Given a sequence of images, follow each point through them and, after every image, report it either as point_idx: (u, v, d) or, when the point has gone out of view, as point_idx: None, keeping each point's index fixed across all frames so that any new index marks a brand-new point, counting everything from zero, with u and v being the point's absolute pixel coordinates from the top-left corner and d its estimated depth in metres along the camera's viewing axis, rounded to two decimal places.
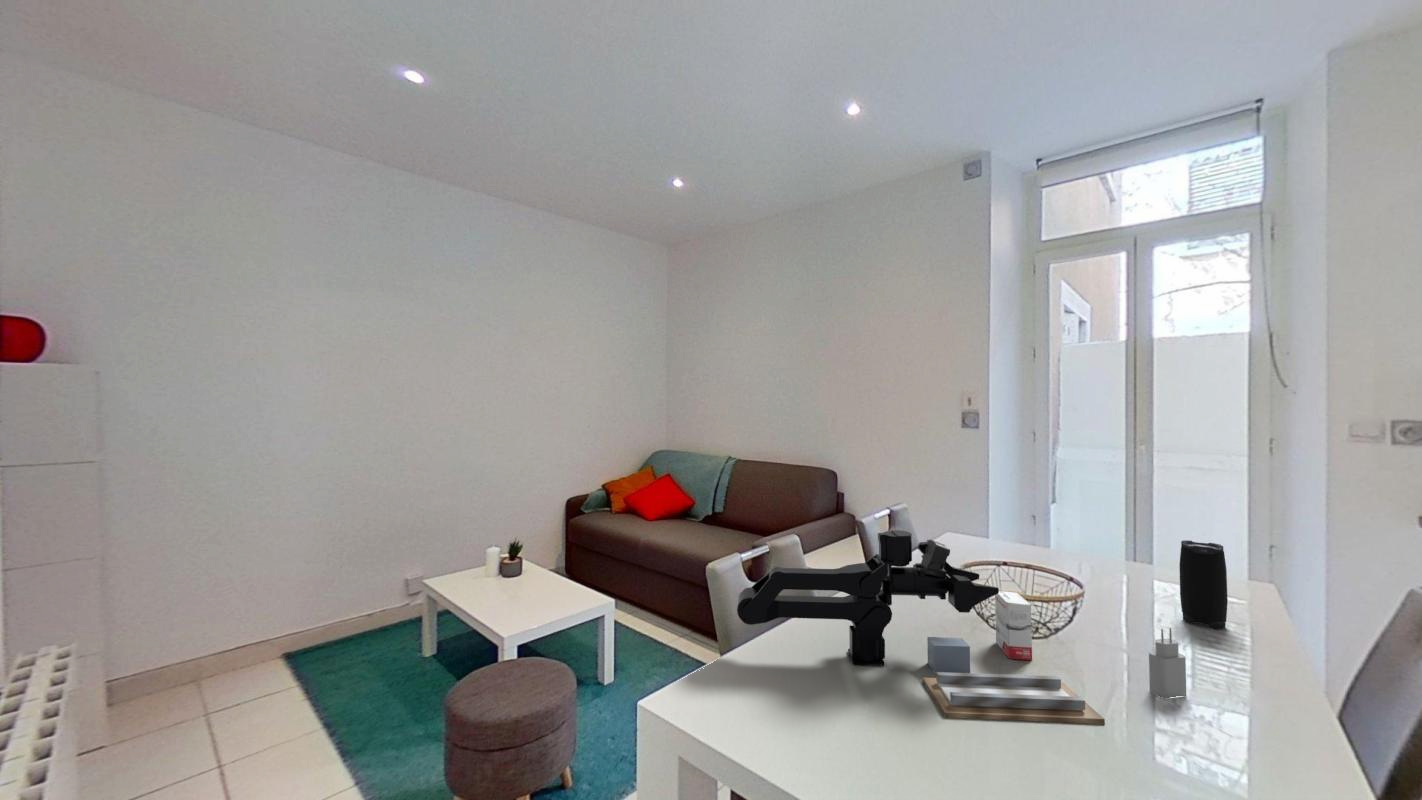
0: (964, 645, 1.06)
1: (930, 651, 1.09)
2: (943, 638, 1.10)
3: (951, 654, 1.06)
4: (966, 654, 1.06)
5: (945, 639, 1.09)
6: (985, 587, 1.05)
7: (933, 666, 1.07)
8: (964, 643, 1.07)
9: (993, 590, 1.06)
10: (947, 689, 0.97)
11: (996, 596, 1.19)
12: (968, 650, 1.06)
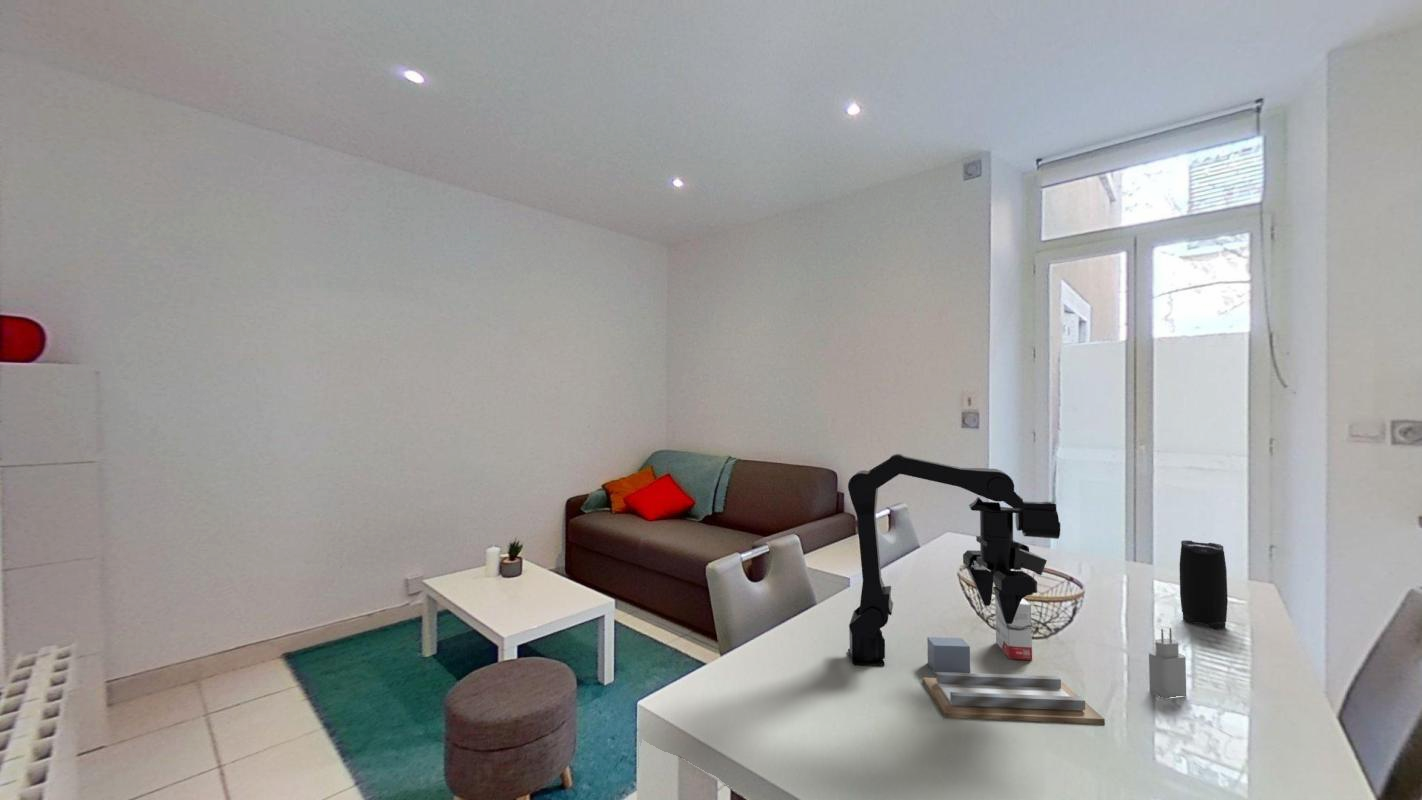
0: (964, 645, 1.06)
1: (930, 651, 1.09)
2: (943, 638, 1.10)
3: (951, 654, 1.06)
4: (966, 654, 1.06)
5: (945, 639, 1.09)
6: (1016, 610, 0.98)
7: (933, 666, 1.07)
8: (964, 643, 1.07)
9: (1010, 618, 0.98)
10: (947, 689, 0.97)
11: None
12: (968, 650, 1.06)
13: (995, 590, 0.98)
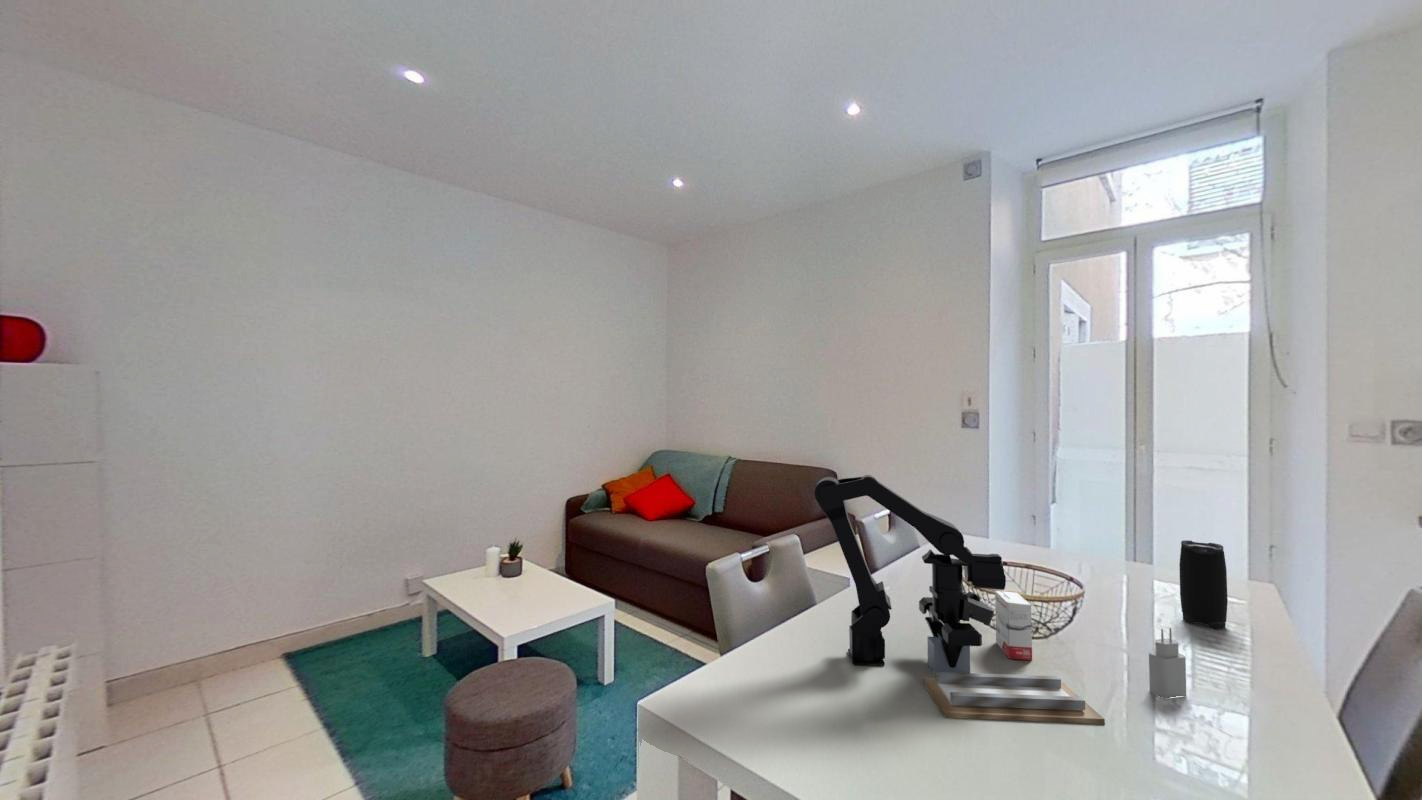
0: None
1: (930, 651, 1.09)
2: None
3: None
4: (966, 653, 1.06)
5: None
6: (958, 654, 1.05)
7: (933, 666, 1.07)
8: None
9: (953, 662, 1.05)
10: (947, 689, 0.97)
11: (996, 596, 1.19)
12: (968, 649, 1.06)
13: (939, 636, 1.05)
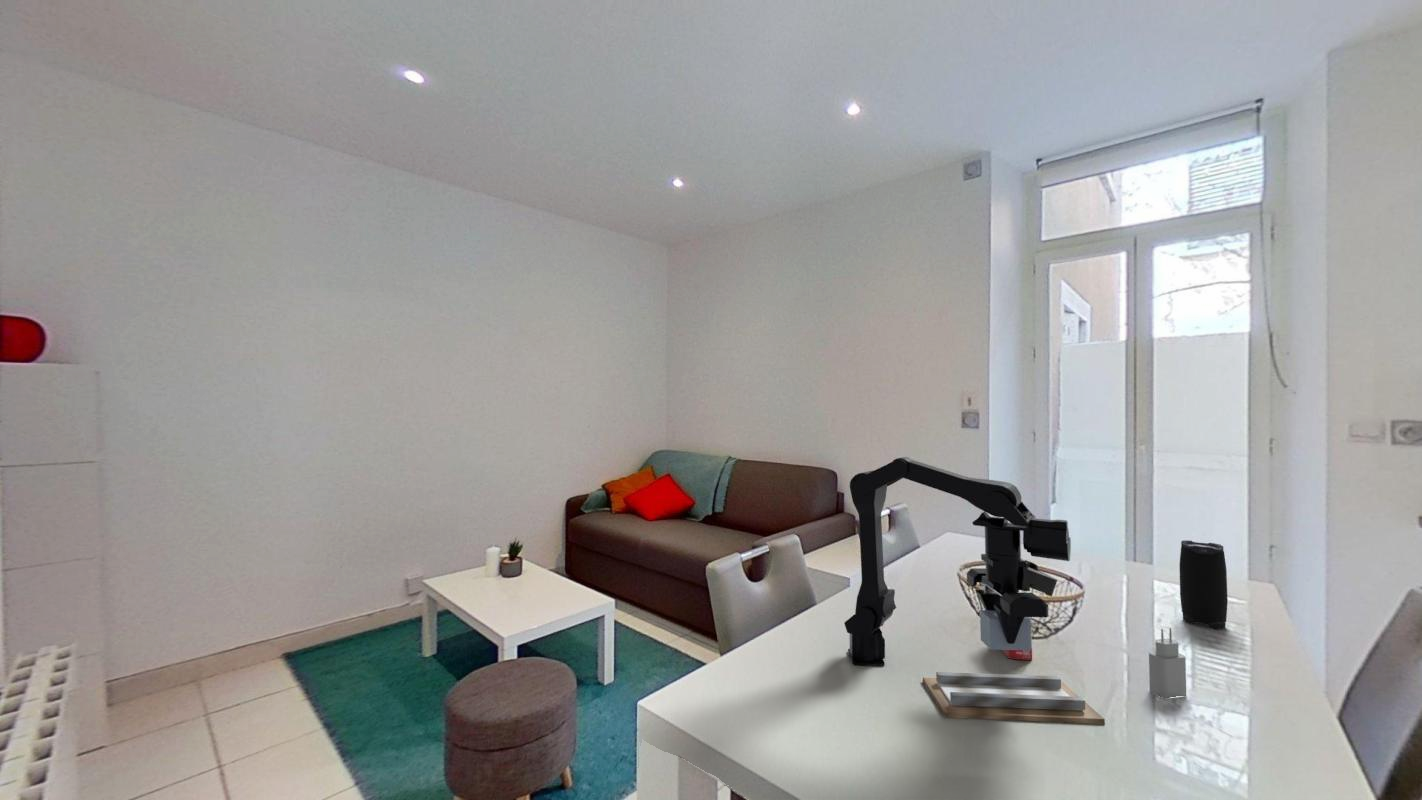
0: (1024, 618, 0.95)
1: (984, 626, 0.97)
2: None
3: None
4: (1026, 628, 0.94)
5: None
6: (1018, 629, 0.93)
7: (989, 642, 0.95)
8: None
9: (1012, 638, 0.94)
10: (947, 689, 0.97)
11: None
12: (1028, 623, 0.94)
13: (996, 608, 0.93)
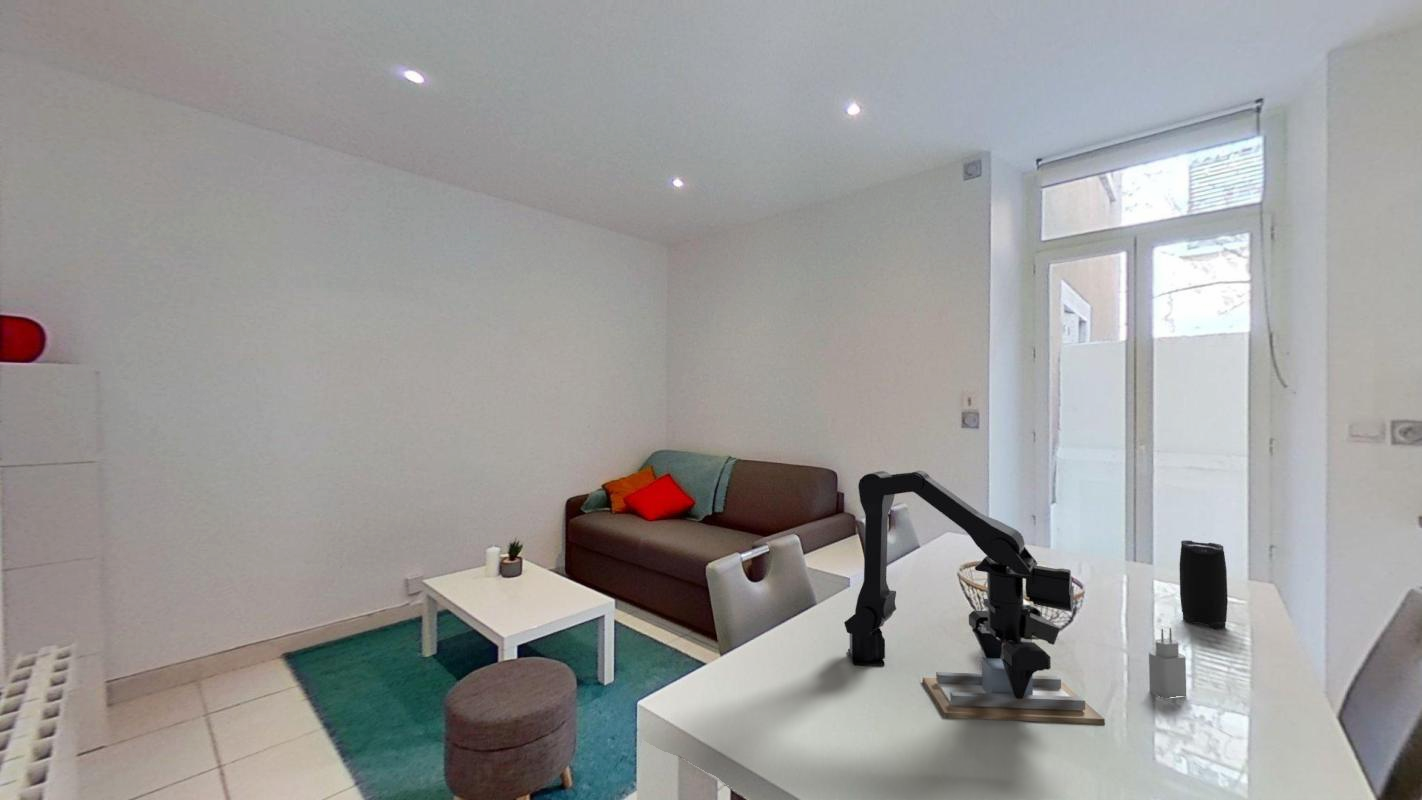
0: None
1: (985, 675, 0.97)
2: (1000, 659, 0.97)
3: None
4: None
5: None
6: (1026, 684, 0.90)
7: (990, 692, 0.95)
8: None
9: (1020, 693, 0.91)
10: (947, 689, 0.97)
11: None
12: None
13: (1004, 663, 0.90)
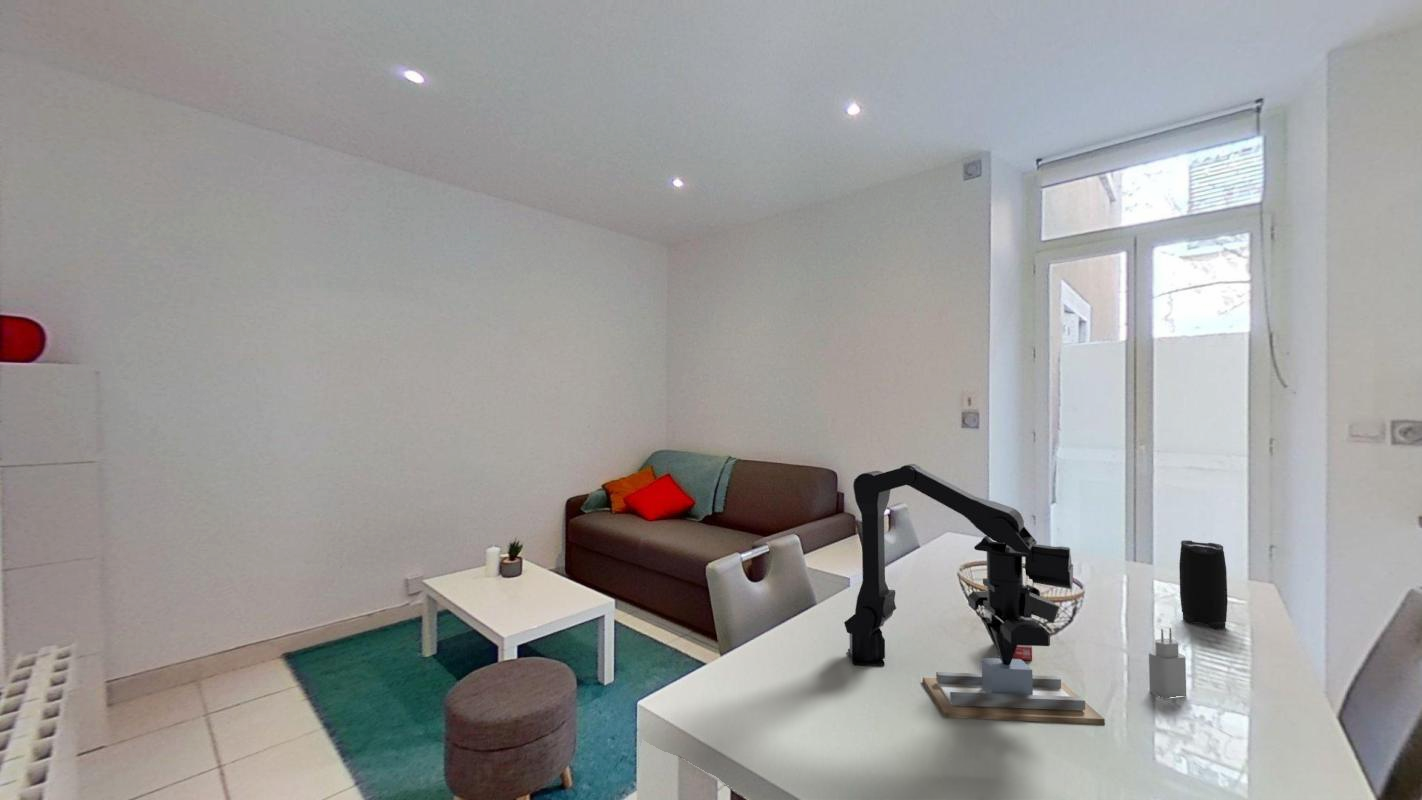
0: (1025, 668, 0.94)
1: (985, 675, 0.97)
2: (1000, 659, 0.97)
3: (1010, 678, 0.94)
4: (1028, 678, 0.94)
5: None
6: (1014, 650, 0.95)
7: (990, 692, 0.95)
8: (1025, 666, 0.95)
9: (1008, 659, 0.95)
10: (947, 689, 0.97)
11: None
12: (1030, 674, 0.94)
13: (992, 630, 0.95)
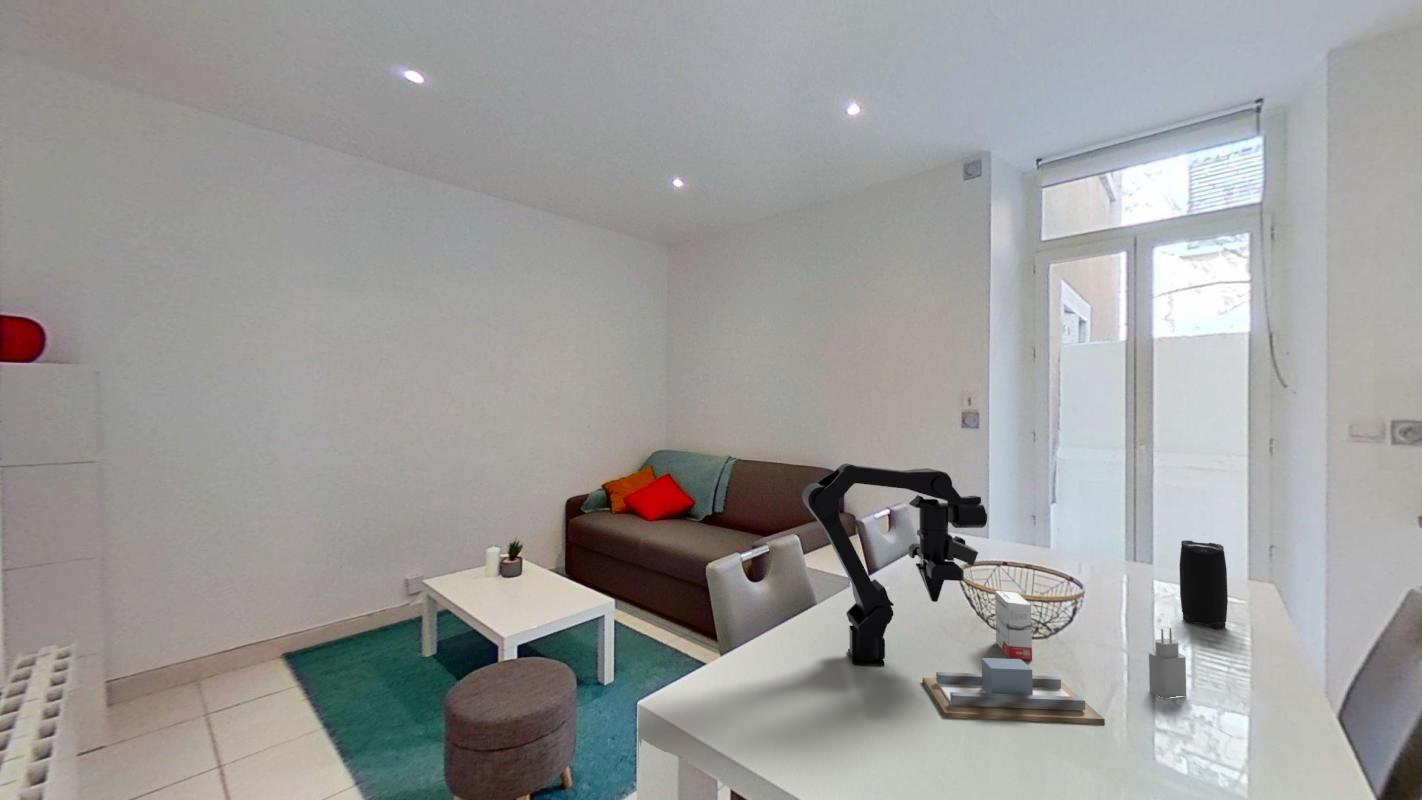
0: (1025, 668, 0.94)
1: (985, 675, 0.97)
2: (1000, 659, 0.97)
3: (1010, 678, 0.94)
4: (1028, 678, 0.94)
5: (1002, 661, 0.97)
6: (940, 589, 1.12)
7: (990, 692, 0.95)
8: (1025, 666, 0.95)
9: (935, 597, 1.12)
10: (947, 689, 0.97)
11: (996, 596, 1.19)
12: (1030, 674, 0.94)
13: (922, 572, 1.12)
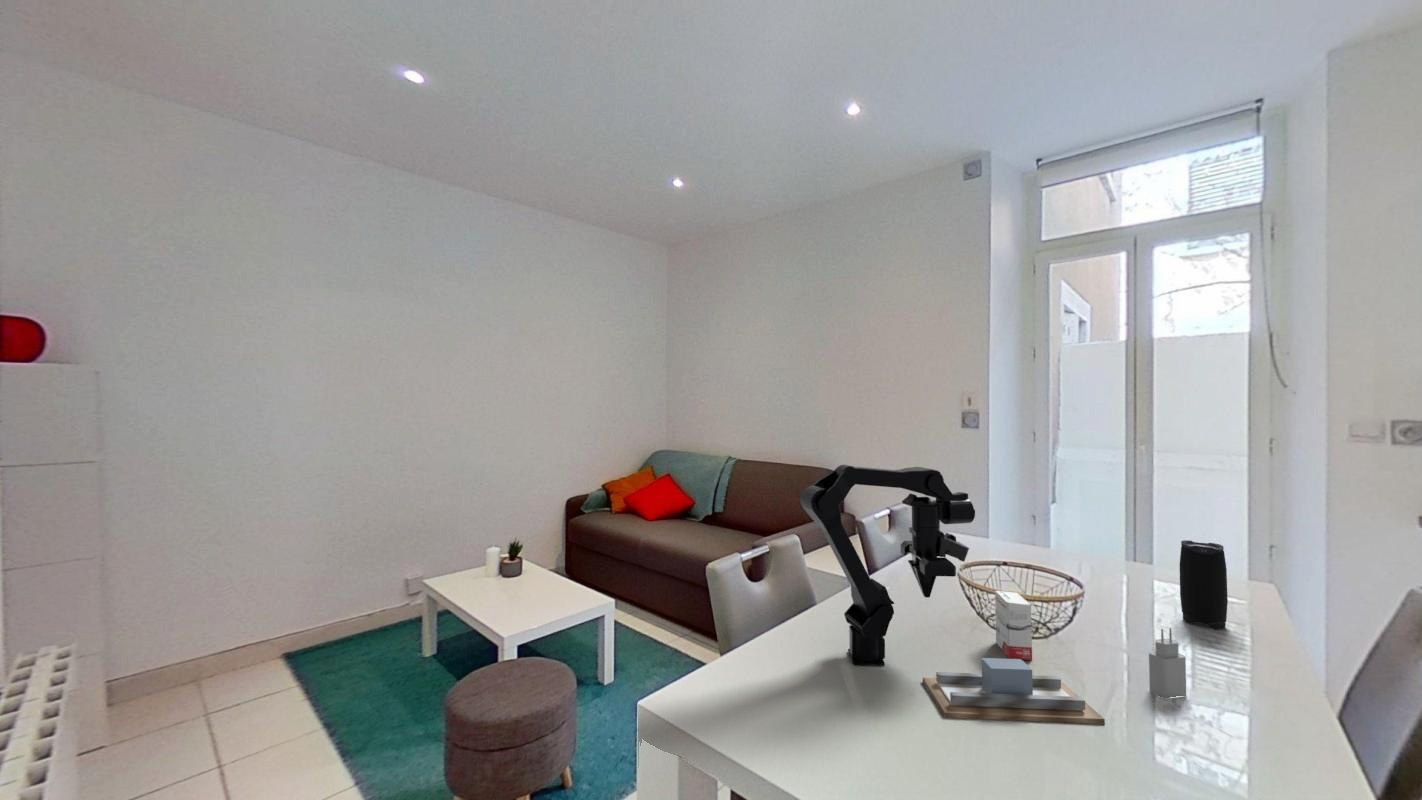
0: (1025, 668, 0.94)
1: (985, 675, 0.97)
2: (1000, 659, 0.97)
3: (1010, 678, 0.94)
4: (1028, 678, 0.94)
5: (1002, 661, 0.97)
6: (932, 585, 1.14)
7: (990, 692, 0.95)
8: (1025, 666, 0.95)
9: (928, 593, 1.15)
10: (947, 689, 0.97)
11: (996, 596, 1.19)
12: (1030, 674, 0.94)
13: (914, 568, 1.14)
